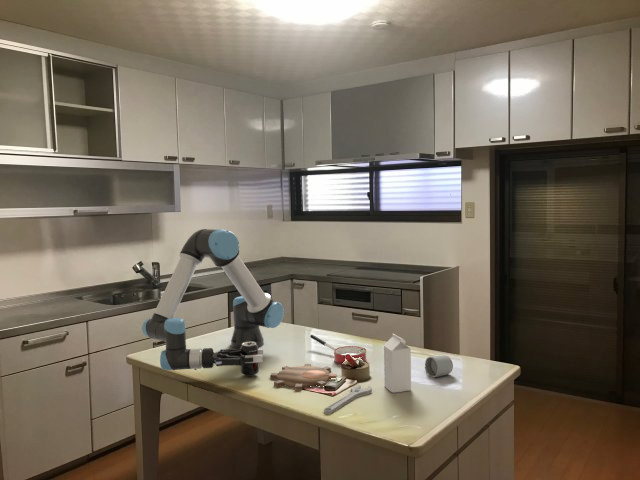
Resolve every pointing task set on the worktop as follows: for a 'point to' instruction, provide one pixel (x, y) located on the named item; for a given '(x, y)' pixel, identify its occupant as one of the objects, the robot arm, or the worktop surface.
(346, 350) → the red saucepan
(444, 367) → the ceramic mug
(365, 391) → the adjustable wrench
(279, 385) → the sprocket plate
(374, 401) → the worktop surface
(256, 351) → the beverage can
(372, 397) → the worktop surface
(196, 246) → the robot arm
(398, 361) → the milk carton
